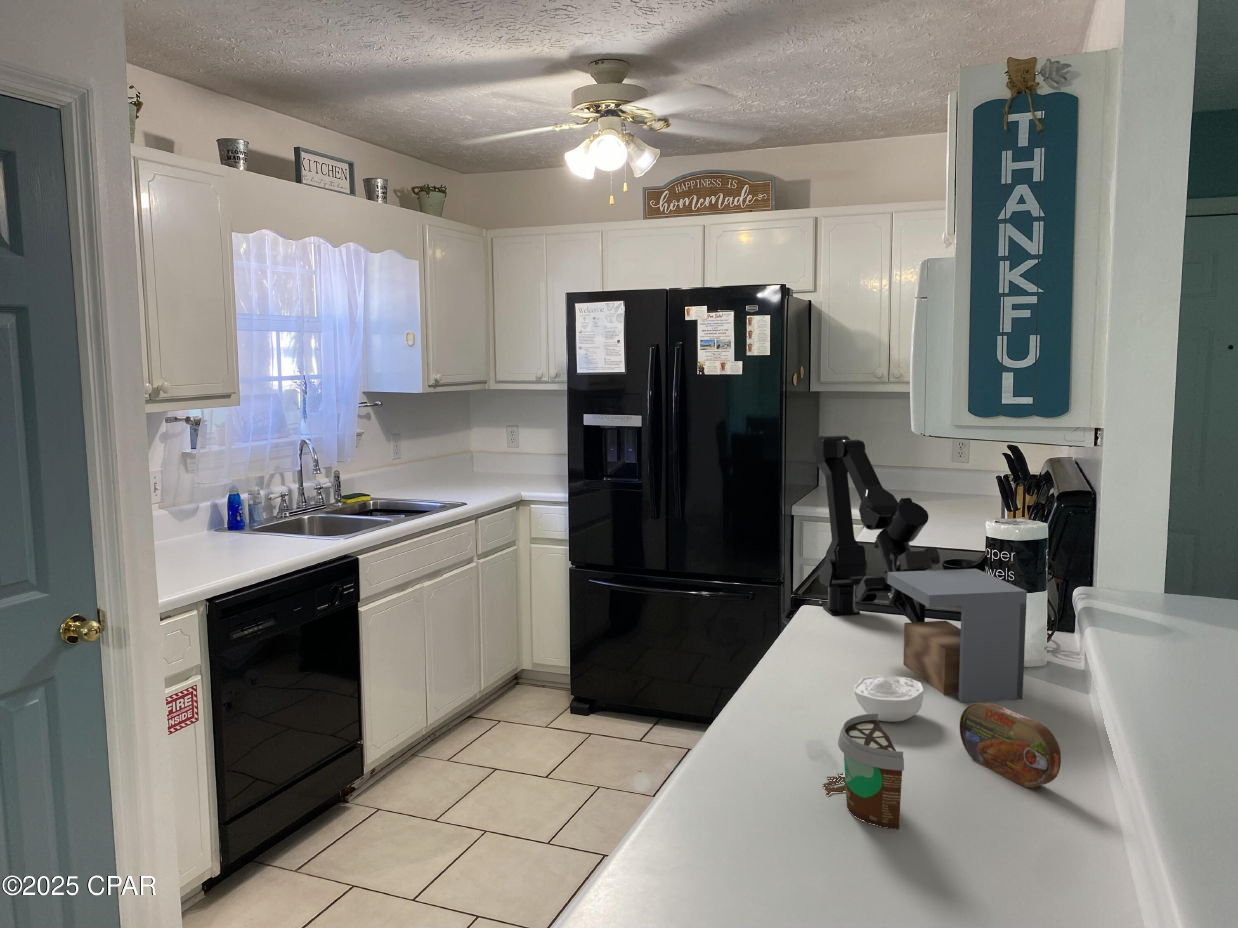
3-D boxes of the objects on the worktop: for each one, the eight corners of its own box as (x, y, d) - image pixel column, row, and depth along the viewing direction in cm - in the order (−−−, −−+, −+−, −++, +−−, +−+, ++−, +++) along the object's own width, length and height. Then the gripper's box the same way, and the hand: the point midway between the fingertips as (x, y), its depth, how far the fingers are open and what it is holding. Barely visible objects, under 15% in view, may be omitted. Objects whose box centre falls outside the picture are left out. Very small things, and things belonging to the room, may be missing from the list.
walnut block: (903, 665, 161) (904, 622, 160) (944, 662, 162) (946, 620, 161) (943, 695, 146) (945, 648, 145) (988, 692, 147) (990, 646, 146)
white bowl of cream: (939, 716, 137) (940, 674, 136) (894, 737, 130) (895, 693, 129) (883, 698, 145) (884, 658, 144) (838, 717, 138) (838, 675, 137)
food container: (827, 785, 115) (828, 711, 114) (875, 785, 115) (876, 711, 114) (849, 835, 103) (850, 753, 102) (902, 835, 103) (904, 753, 102)
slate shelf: (885, 670, 158) (887, 572, 156) (972, 665, 160) (976, 568, 158) (926, 704, 142) (929, 595, 140) (1022, 698, 144) (1026, 591, 142)
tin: (956, 752, 125) (958, 694, 124) (973, 748, 126) (975, 691, 125) (1045, 799, 111) (1048, 735, 110) (1063, 794, 112) (1066, 730, 111)
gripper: (863, 534, 163) (886, 608, 154) (958, 530, 166) (987, 603, 156) (846, 566, 172) (867, 638, 162) (937, 562, 174) (963, 633, 165)
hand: (921, 628), depth 161 cm, fingers closed
